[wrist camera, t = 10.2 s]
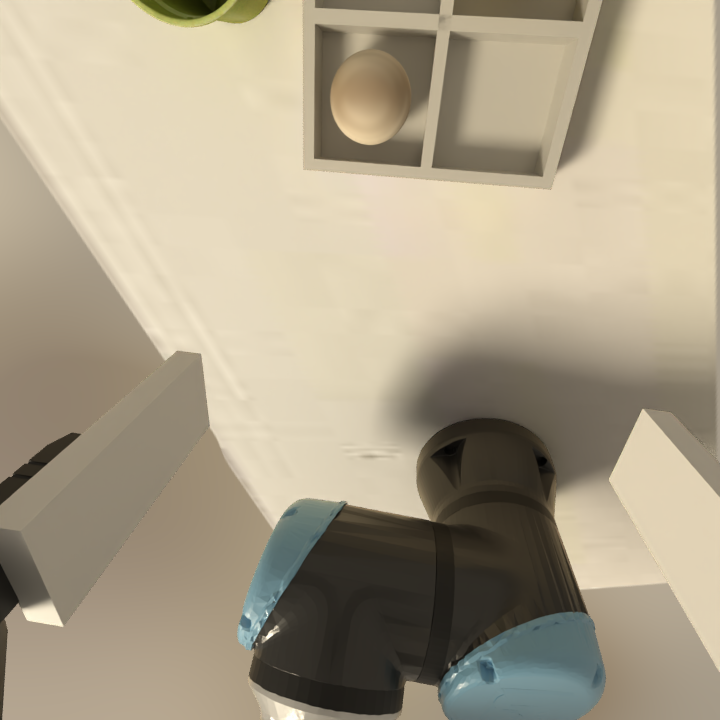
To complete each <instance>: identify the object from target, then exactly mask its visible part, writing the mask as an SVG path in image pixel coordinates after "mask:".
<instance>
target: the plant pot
mask: <svg viewBox="0 0 720 720" xmlns="http://www.w3.org/2000/svg"><path fill="white" fill-rule="evenodd" d="M131 1H132V2H133V3H134V4H136V5H137V6H138V7H139V8H140V9H142V10H143V11H144V12H146V13H147V14H149V15H150V16H152V17H153V18H156V19H158V20H160V21H162V22H165V23H168V24H171V25H175V26H180V27H199V26H203V25H207V24H210V23H212V22H214V21H216V20H218V21H223V22H228V23H243V22H246V21H249V20H251V19H253V18H254V17H256V16H257V15H258V14H259V13H260V12H261V11H262V10H263V8H264V7H265V5H266V4H267V2H268V0H131Z"/></svg>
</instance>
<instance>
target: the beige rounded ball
mask: <svg viewBox="0 0 720 720" xmlns="http://www.w3.org/2000/svg"><path fill="white" fill-rule="evenodd" d="M330 103H331V109H332V113H333V116H334V119H335V121H336V123H337V125H338V127H339V128H340V129H341V131H342V132H343V133H344V134H345V135H346V136H347V137H349V138H350V139H352V140H353V141H355V142H357V143H361V144H365V145H376V144H380V143H383V142H385V141H387V140H389V139H391V138H392V137H393V136H394V135H396V134H397V133H398V132H399V130H400V129H401V128H402V126H403V125H404V123H405V121H406V119H407V117H408V114H409V110H410V106H411V87H410V82H409V79H408V76H407V74H406V72H405V70H404V68H403V67H402V65H401V64H400V63H399V62H398V61H397V60H396V59H395V58H394V57H393V56H391V55H390V54H388V53H386V52H384V51H381V50H376V49H366V50H362V51H359V52H356V53H355V54H353V55H351V56H350V57H348V58H347V59H346V60H345V61H344V62H343V63H342V65H341V66H340V67H339V69H338V70H337V72H336V74H335V77H334V79H333V82H332V86H331V94H330Z"/></svg>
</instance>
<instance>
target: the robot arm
mask: <svg viewBox="0 0 720 720" xmlns="http://www.w3.org/2000/svg"><path fill="white" fill-rule="evenodd" d="M209 426H210V425H209V416H208V408H207V399H206V391H205V383H204V374H203V366H202V357H201V354H198V353H190V352H182V351H177V352H175V353H174V354H173V355H172V356H171V357H170V358H168V359H167V360H166V361H165V362H164V363H163V364H162V365H160V366H159V367H158V368H157V369H156V370H155V371H154V372H153V373H151V374H150V375H149V376H148V377H147V378H146V379H144V380H143V381H142V382H141V383H140V384H139V385H138V386H136V387H135V388H134V389H133V390H132V391H131V392H130V393H128V394H127V395H126V396H125V397H124V398H123V399H122V400H120V401H119V402H118V403H117V404H116V405H115V406H113V407H112V408H111V409H110V410H109V411H108V412H107V413H106V414H104V415H103V416H102V417H101V418H100V419H98V420H97V421H96V422H95V423H94V424H93V425H92V426H90V427H89V428H88V429H87V430H86V431H85V432H84V433H83V434H77V433H70V434H68V435H66V436H64V437H63V438H61V439H58V440H56V441H55V442H53V443H51V444H49V445H47V446H46V447H45V448H43V449H42V450H41V451H40V452H39V453H37V454H36V455H35V456H34V457H32V459H30V460H29V463H28V464H24V465H23V466H21V467H20V468H19V469H18V470H17V471H15V472H14V473H13V476H12V477H8V478H7V479H6V480H5V481H3V482H2V483H1V484H0V720H2V711H3V696H4V680H5V679H4V678H5V663H6V649H7V633H8V630H7V626H6V622H5V620H4V619H5V617H6V616H7V615H8V614H9V613H10V612H11V610H12V609H13V608H14V607H15V606H16V604H18V603H19V605H20V607H21V609H22V610H23V612H24V614H25V616H26V618H27V620H28V621H34V622H40V623H45V624H51V625H57V626H62V627H63V626H64V625H65V624H66V623H67V621H68V620H69V619H70V617H71V616H72V615H73V613H74V612H75V610H76V609H77V608H78V606H79V605H80V604H81V602H82V601H83V599H84V598H85V596H86V595H87V594H88V592H89V591H90V590H91V588H92V587H93V586H94V584H95V583H96V582H97V580H98V579H99V577H100V576H101V575H102V573H103V572H104V571H105V569H106V568H107V566H108V565H109V564H110V562H111V561H112V560H113V558H114V557H115V555H116V554H117V553H118V551H119V550H120V549H121V547H122V546H123V544H124V543H125V542H126V540H127V539H128V538H129V536H130V535H131V533H132V532H133V531H134V529H135V528H136V527H137V525H138V524H139V522H140V521H141V520H142V518H143V517H144V515H145V514H146V513H147V511H148V510H149V508H150V507H151V506H152V505H153V503H154V502H155V500H156V499H157V498H158V496H159V495H160V494H161V492H162V491H163V489H164V488H165V487H166V485H167V484H168V483H169V481H170V480H171V478H172V477H173V476H174V474H175V472H177V470H178V469H179V467H180V466H181V465H182V463H183V462H184V461H185V459H186V458H187V456H188V455H189V454H190V452H191V451H192V449H193V448H194V447H195V445H196V444H197V443H198V441H199V440H200V438H201V437H202V436H203V434H204V433H205V432H206V430H207V429H208V428H209ZM609 482H610V483H611V485H612V487H613V489H614V490H615V492H616V494H617V495H618V497H619V499H620V501H621V502H622V504H623V506H624V508H625V509H626V511H627V513H628V515H629V516H630V518H631V520H632V521H633V523H634V525H635V527H636V528H637V530H638V532H639V534H640V535H641V537H642V539H643V540H644V542H645V544H646V546H647V547H648V549H649V551H650V553H651V554H652V556H653V558H654V560H655V561H656V563H657V565H658V566H659V568H660V570H661V572H662V573H663V575H664V577H665V579H666V580H667V582H668V584H669V585H670V587H671V589H672V591H673V592H674V594H675V596H676V597H677V599H678V601H679V603H680V605H681V606H682V608H683V610H684V611H685V613H686V615H687V617H688V618H689V620H690V622H691V624H692V625H693V627H694V629H695V630H696V632H697V634H698V636H699V637H700V639H701V641H702V643H703V644H704V646H705V648H706V650H707V651H708V653H709V655H710V656H711V658H712V660H713V662H714V663H715V665H716V667H717V668H718V670H719V672H720V463H719V462H718V461H717V460H716V459H715V458H714V457H713V456H712V455H711V454H710V452H709V451H708V450H707V449H706V448H705V447H704V446H703V445H702V444H701V443H700V442H699V441H698V440H697V439H696V438H695V437H694V436H693V435H692V434H691V433H690V432H689V431H688V429H687V428H686V427H685V426H684V425H683V424H682V423H681V422H680V421H679V420H678V419H677V418H676V417H675V416H674V415H673V414H672V413H671V412H668V411H660V410H652V409H644V408H643V409H642V411H641V413H640V415H639V417H638V419H637V422H636V424H635V426H634V428H633V430H632V432H631V434H630V436H629V438H628V440H627V442H626V445H625V447H624V449H623V451H622V453H621V455H620V457H619V459H618V461H617V463H616V466H615V468H614V470H613V472H612V474H611V476H610V478H609ZM417 488H418V492H419V495H420V498H421V500H422V502H423V505H424V507H425V509H426V512H427V514H428V516H429V519H430V521H429V520H424V519H419V518H414V517H409V516H403V515H398V514H393V513H388V512H382V511H377V510H372V509H367V508H362V507H356V506H351V505H347V502H346V501H341V502H332V501H325V500H318V499H311V498H306V499H301V500H298V501H296V502H294V503H293V504H292V505H291V506H289V507H288V509H287V510H286V511H285V512H284V514H283V515H282V517H281V518H280V520H279V522H278V523H277V525H276V527H275V529H274V531H273V533H272V535H271V537H270V539H269V541H268V543H267V545H266V547H265V550H264V552H263V554H262V556H261V559H260V562H259V564H258V566H257V569H256V571H255V574H254V577H253V579H252V582H251V585H250V588H249V591H248V594H247V596H246V600H245V603H244V606H243V614H242V617H241V620H240V623H239V626H238V641H239V643H240V644H242V645H244V646H245V648H246V650H252V649H253V648H254V657H253V660H252V665H251V668H250V672H249V677H248V683H249V685H250V687H251V689H252V691H253V693H254V695H255V697H256V699H257V701H258V703H259V706H260V712H261V715H260V720H396V719H397V718H398V717H399V716H400V715H401V712H402V704H403V695H404V685H405V682H406V681H413V682H418V683H423V684H427V685H433V686H436V687H438V698H439V702H440V703H441V705H442V709H443V712H444V714H445V716H446V717H447V718H448V719H449V720H577V719H579V718H580V717H582V716H583V715H585V714H587V713H588V712H589V711H590V710H591V709H592V708H593V707H594V706H595V705H596V704H597V703H598V701H599V700H600V698H601V696H602V694H603V691H604V687H605V682H606V681H605V680H606V675H605V669H604V664H603V661H602V657H601V653H600V649H599V646H598V642H597V638H596V635H595V626H594V622H593V620H592V619H591V618H590V616H589V615H588V612H587V609H586V606H585V603H584V601H583V598H582V595H581V592H580V589H579V587H578V584H577V581H576V578H575V575H574V573H573V570H572V567H571V564H570V561H569V559H568V556H567V553H566V550H565V548H564V545H563V542H562V539H561V536H560V534H559V531H558V528H557V525H556V523H555V520H554V513H555V497H556V472H555V468H554V465H553V462H552V460H551V457H550V455H549V452H548V450H547V448H546V447H545V445H544V444H543V442H542V441H541V440H540V439H539V438H538V437H537V436H536V435H535V434H533V433H532V432H531V431H529V430H527V429H526V428H524V427H522V426H519V425H517V424H514V423H511V422H508V421H503V420H497V419H474V420H468V421H464V422H460V423H457V424H454V425H451V426H449V427H447V428H445V429H443V430H441V431H440V432H438V433H437V434H436V435H434V436H433V437H432V438H431V439H430V440H429V441H428V442H427V443H426V444H425V446H424V447H423V449H422V450H421V452H420V455H419V457H418V461H417Z"/></svg>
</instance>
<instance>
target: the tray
mask: <svg viewBox="0 0 720 720" xmlns="http://www.w3.org/2000/svg"><path fill="white" fill-rule="evenodd" d="M602 1H603V0H303V170H314V171H326V172H338V173H351V174H363V175H376V176H388V177H400V178H413V179H425V180H437V181H450V182H462V183H474V184H487V185H499V186H511V187H524V188H536V189H548V190H551V189H552V185H553V181H554V178H555V174H556V170H557V167H558V163H559V159H560V156H561V152H562V148H563V144H564V141H565V137H566V133H567V130H568V126H569V122H570V119H571V115H572V111H573V108H574V104H575V100H576V97H577V93H578V89H579V85H580V82H581V78H582V74H583V71H584V67H585V63H586V60H587V56H588V52H589V49H590V45H591V41H592V38H593V34H594V30H595V27H596V23H597V19H598V15H599V12H600V8H601V4H602ZM366 49H376V50H381V51H384V52H386V53H388V54H390V55H391V56H393V57H394V58H395V59H396V60H397V61H398V62H399V63H400V64H401V65H402V67H403V68H404V70H405V72H406V74H407V76H408V79H409V82H410V87H411V106H410V110H409V114H408V117H407V119H406V121H405V123H404V125H403V126H402V128H401V129H400V130H399V132H398V133H397V134H396V135H394V136H393V137H392V138H391V139H389V140H387V141H385V142H383V143H380V144H376V145H365V144H361V143H357V142H355V141H353V140H352V139H350V138H349V137H347V136H346V135H345V134H344V133H343V132H342V131H341V129H340V128H339V127H338V125H337V123H336V121H335V119H334V116H333V113H332V109H331V103H330V94H331V86H332V82H333V79H334V77H335V74H336V72H337V70H338V69H339V67H340V66H341V65H342V63H343V62H344V61H345V60H346V59H347V58H348V57H350V56H351V55H353V54H355V53H356V52H359V51H362V50H366Z"/></svg>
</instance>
